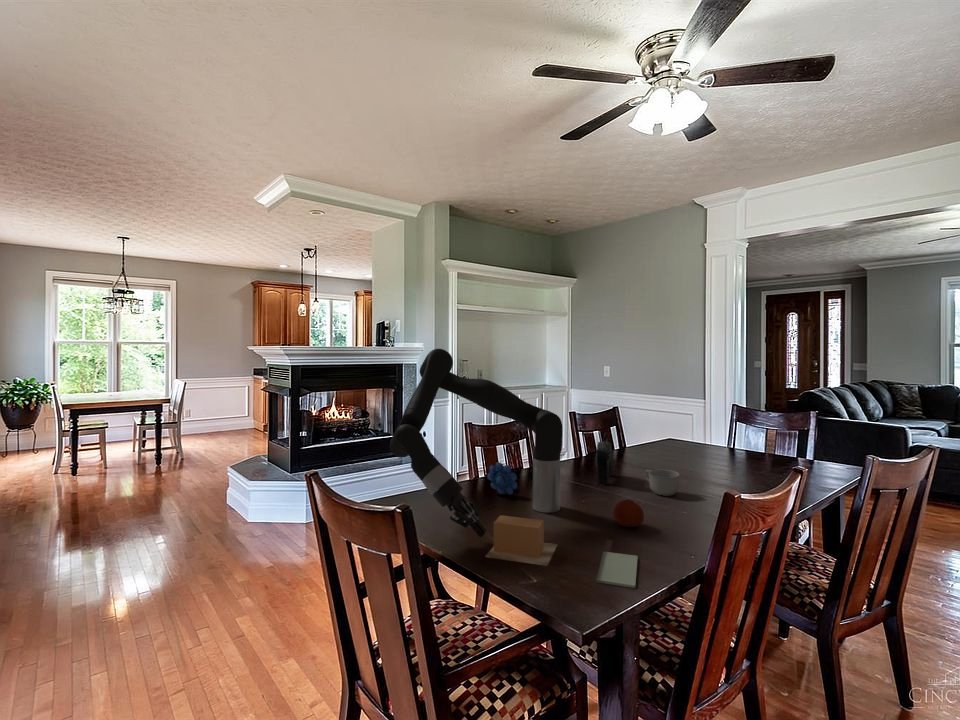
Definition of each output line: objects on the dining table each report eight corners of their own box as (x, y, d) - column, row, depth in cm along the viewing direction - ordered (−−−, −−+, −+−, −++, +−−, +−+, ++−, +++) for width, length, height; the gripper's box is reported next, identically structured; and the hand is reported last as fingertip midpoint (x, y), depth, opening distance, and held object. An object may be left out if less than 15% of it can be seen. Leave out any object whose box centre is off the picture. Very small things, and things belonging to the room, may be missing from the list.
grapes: (483, 496, 182) (483, 463, 181) (489, 491, 188) (489, 460, 188) (514, 499, 178) (514, 466, 178) (519, 494, 184) (519, 462, 184)
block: (500, 542, 134) (500, 515, 134) (543, 548, 130) (543, 520, 130) (493, 551, 128) (493, 522, 128) (538, 557, 124) (538, 528, 124)
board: (501, 542, 138) (501, 536, 138) (557, 549, 133) (557, 544, 133) (485, 562, 125) (485, 556, 125) (547, 571, 120) (547, 565, 120)
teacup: (685, 496, 181) (686, 474, 181) (662, 499, 177) (662, 477, 177) (659, 486, 194) (659, 466, 194) (637, 489, 190) (637, 468, 190)
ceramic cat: (609, 486, 194) (609, 436, 194) (592, 485, 197) (592, 435, 196) (614, 474, 213) (615, 428, 212) (599, 473, 215) (599, 427, 215)
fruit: (607, 523, 153) (607, 497, 153) (630, 519, 156) (630, 494, 156) (625, 533, 145) (625, 506, 145) (649, 529, 148) (649, 502, 148)
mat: (560, 547, 134) (560, 545, 134) (637, 558, 127) (637, 555, 127) (548, 574, 118) (548, 572, 118) (635, 588, 111) (635, 585, 111)
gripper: (443, 487, 143) (482, 534, 139) (422, 500, 131) (465, 552, 127) (459, 470, 141) (500, 518, 138) (441, 482, 129) (485, 534, 125)
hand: (483, 534), depth 132 cm, fingers closed
